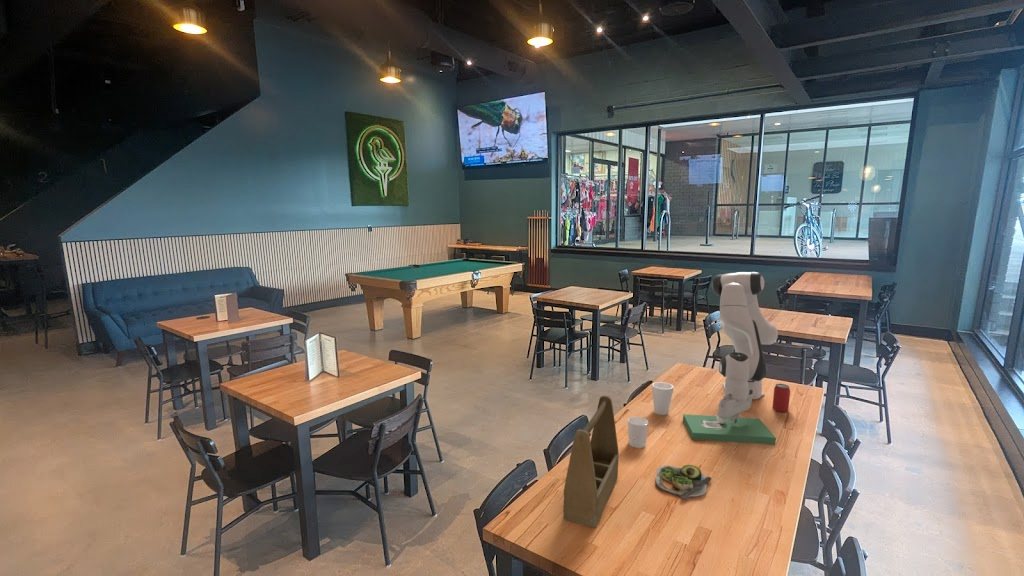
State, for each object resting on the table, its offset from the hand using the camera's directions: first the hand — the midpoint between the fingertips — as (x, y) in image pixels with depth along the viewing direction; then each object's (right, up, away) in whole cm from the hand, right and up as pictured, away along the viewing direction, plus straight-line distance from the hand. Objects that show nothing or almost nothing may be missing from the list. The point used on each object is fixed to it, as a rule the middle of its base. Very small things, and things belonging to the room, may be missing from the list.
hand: (733, 423), depth 200 cm
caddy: (-67, -12, -45) cm, 82 cm away
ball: (-4, +1, +2) cm, 5 cm away
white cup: (-43, -6, -9) cm, 45 cm away
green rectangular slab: (-2, -4, +1) cm, 5 cm away
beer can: (+33, -1, +23) cm, 40 cm away
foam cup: (-24, -1, +21) cm, 32 cm away
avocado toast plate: (-35, -11, -36) cm, 51 cm away
